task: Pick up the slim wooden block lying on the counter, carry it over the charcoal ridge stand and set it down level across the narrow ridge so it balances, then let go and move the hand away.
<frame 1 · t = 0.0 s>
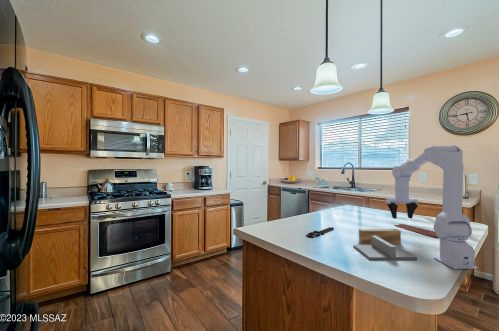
hand: (402, 218, 113), 10 cm above the counter, tool pointing down, fingers open, 7 cm apart
ridge stand: (382, 252, 95), on the counter
wooden block: (379, 242, 108), on the counter
wooden tablet: (418, 231, 127), on the counter
black spatula: (321, 233, 125), on the counter
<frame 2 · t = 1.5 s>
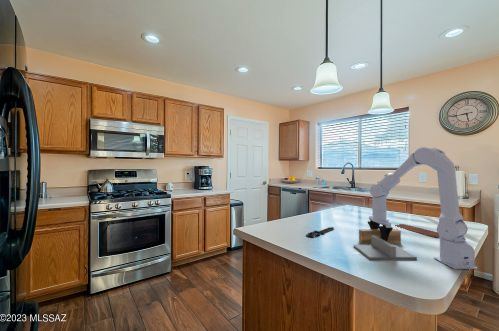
hand: (379, 238, 108), 2 cm above the counter, tool pointing down, fingers open, 7 cm apart
nothing on the counter moved.
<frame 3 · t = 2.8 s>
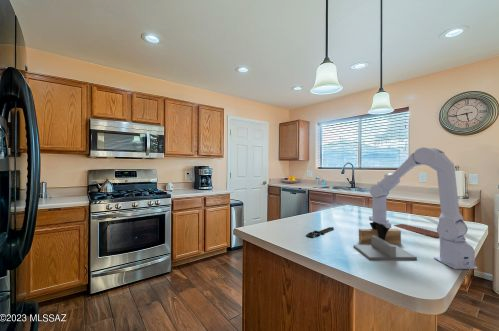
hand: (379, 239, 108), 1 cm above the counter, tool pointing down, fingers closed on wooden block, 3 cm apart
wooden block: (379, 242, 108), on the counter, touching gripper
everything else where it was.
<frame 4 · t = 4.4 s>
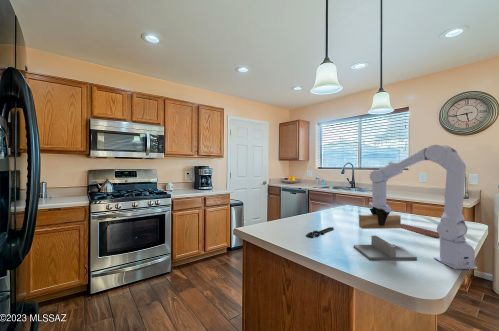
hand: (379, 224, 108), 8 cm above the counter, tool pointing down, fingers closed on wooden block, 3 cm apart
wooden block: (379, 227, 108), point 7 cm above the counter, touching gripper
everything else where it was.
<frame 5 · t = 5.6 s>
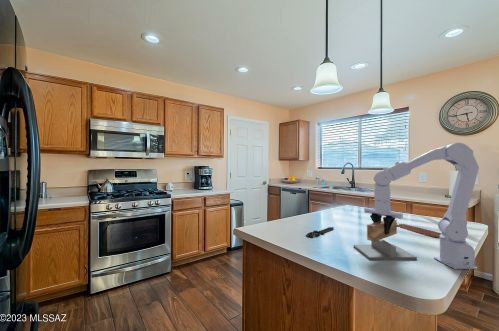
hand: (382, 232, 95), 8 cm above the counter, tool pointing down, fingers closed on wooden block, 3 cm apart
wooden block: (382, 236, 95), point 7 cm above the counter, touching gripper
everything else where it was.
when the fingers open (7 cm above the counter, at t = 6.5 s): wooden block stays where it is, resting on ridge stand.
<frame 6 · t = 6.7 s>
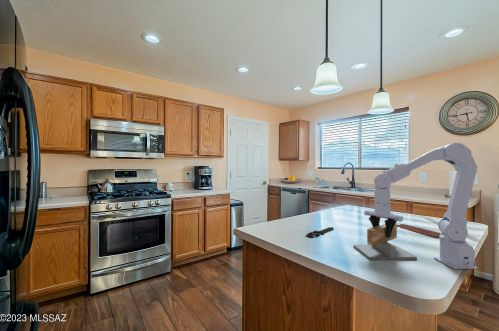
hand: (382, 235, 95), 7 cm above the counter, tool pointing down, fingers open, 4 cm apart
wooden block: (382, 240, 95), point 5 cm above the counter, touching ridge stand
everything else where it was.
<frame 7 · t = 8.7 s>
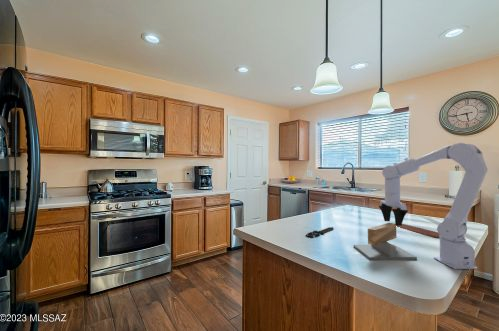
hand: (392, 223, 102), 10 cm above the counter, tool pointing down, fingers open, 7 cm apart
nothing on the counter moved.
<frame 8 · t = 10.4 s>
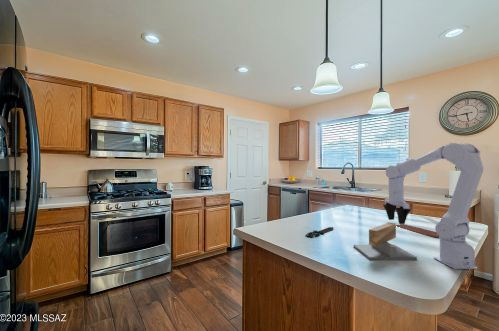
hand: (396, 221, 105), 10 cm above the counter, tool pointing down, fingers open, 7 cm apart
nothing on the counter moved.
at the end: wooden block 0.1 cm from the target spot, point 5.0 cm above the counter; wooden block tilted 0°; wooden block touching ridge stand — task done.
